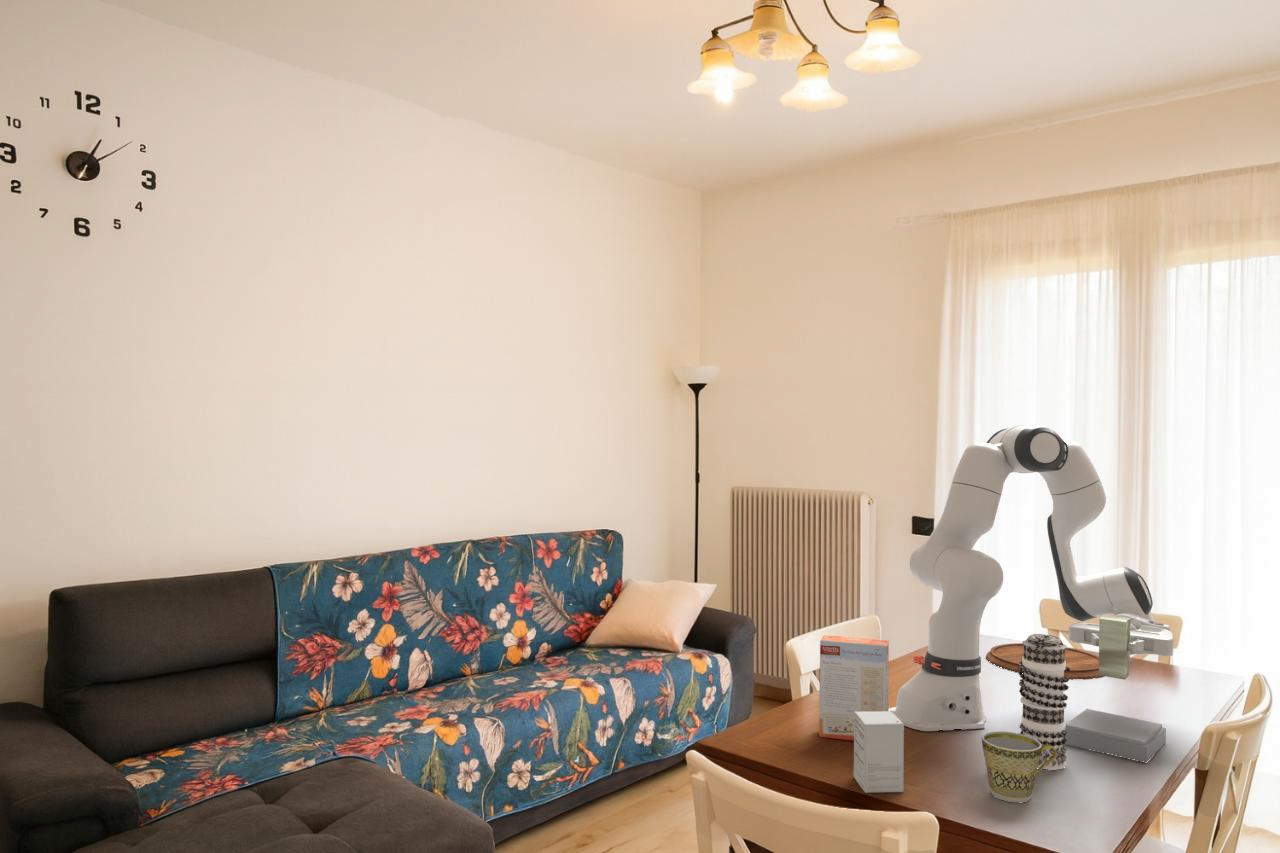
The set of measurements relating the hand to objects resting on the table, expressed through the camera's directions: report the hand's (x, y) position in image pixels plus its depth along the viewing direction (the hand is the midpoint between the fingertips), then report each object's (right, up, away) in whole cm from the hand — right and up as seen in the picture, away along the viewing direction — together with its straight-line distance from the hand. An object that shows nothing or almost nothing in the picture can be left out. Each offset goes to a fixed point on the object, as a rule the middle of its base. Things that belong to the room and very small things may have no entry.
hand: (1113, 644), depth 188 cm
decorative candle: (-20, -21, -11) cm, 31 cm away
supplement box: (-56, -20, -23) cm, 64 cm away
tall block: (0, -7, +1) cm, 7 cm away
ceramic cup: (-32, -21, -28) cm, 47 cm away
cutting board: (+15, -22, +65) cm, 70 cm away
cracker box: (-54, -20, +2) cm, 58 cm away
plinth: (0, -21, 0) cm, 21 cm away
